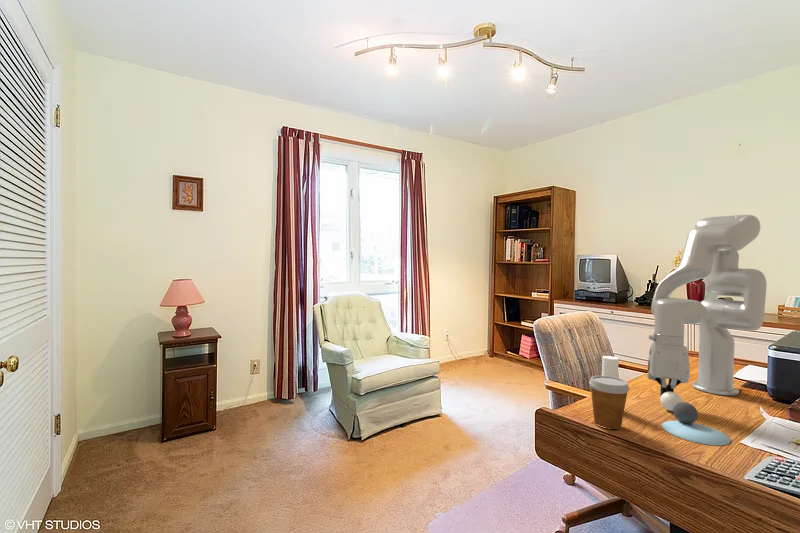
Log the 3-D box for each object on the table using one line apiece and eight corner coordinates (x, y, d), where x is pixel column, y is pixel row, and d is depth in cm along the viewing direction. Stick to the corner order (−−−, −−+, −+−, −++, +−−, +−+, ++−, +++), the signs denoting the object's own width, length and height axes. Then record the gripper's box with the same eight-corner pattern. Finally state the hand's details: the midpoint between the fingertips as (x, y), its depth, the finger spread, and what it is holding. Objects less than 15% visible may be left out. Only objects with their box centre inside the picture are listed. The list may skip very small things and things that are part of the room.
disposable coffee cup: (621, 420, 107) (622, 376, 107) (633, 435, 98) (635, 387, 98) (583, 416, 109) (585, 373, 109) (592, 430, 100) (594, 384, 100)
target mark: (676, 417, 110) (676, 416, 110) (739, 437, 98) (739, 436, 98) (651, 428, 102) (651, 427, 102) (716, 450, 91) (716, 449, 91)
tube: (619, 410, 114) (620, 359, 114) (603, 409, 115) (604, 358, 115) (614, 405, 118) (615, 356, 118) (598, 404, 119) (600, 355, 119)
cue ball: (672, 391, 113) (674, 411, 111) (686, 392, 114) (688, 412, 113) (654, 390, 118) (656, 409, 116) (668, 391, 119) (670, 411, 118)
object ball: (678, 397, 110) (686, 397, 105) (697, 413, 108) (706, 413, 103) (665, 411, 110) (672, 412, 105) (684, 427, 108) (692, 428, 103)
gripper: (644, 340, 119) (642, 400, 119) (702, 345, 114) (700, 407, 114) (637, 336, 126) (635, 392, 126) (692, 340, 121) (690, 398, 122)
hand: (666, 399), depth 120 cm, fingers closed
